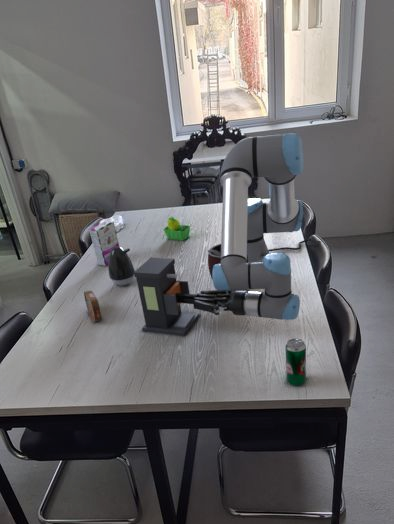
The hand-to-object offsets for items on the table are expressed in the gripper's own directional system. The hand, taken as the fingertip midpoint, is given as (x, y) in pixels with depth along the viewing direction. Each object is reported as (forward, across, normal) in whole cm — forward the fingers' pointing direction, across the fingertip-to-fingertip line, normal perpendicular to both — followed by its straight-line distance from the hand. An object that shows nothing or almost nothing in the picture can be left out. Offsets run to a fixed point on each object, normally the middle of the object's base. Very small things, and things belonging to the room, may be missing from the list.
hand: (176, 297), depth 155 cm
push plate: (+1, 0, -3) cm, 4 cm away
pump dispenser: (+37, +26, -10) cm, 46 cm away
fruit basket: (+35, +75, -10) cm, 83 cm away
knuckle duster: (+79, +87, -10) cm, 118 cm away
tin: (+34, 0, -10) cm, 35 cm away
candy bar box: (+56, +46, -10) cm, 73 cm away
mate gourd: (-9, +23, -10) cm, 26 cm away
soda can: (-43, -22, -10) cm, 49 cm away
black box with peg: (+4, 0, -10) cm, 10 cm away
